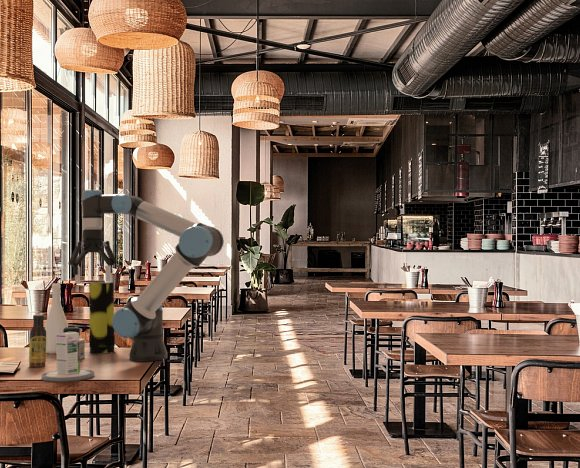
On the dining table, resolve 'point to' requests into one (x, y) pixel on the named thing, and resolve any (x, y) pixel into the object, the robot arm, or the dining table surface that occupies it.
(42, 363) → the sauce bottle
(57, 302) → the wine bottle
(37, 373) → the dining table surface
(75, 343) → the syrup box
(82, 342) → the container
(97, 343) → the container
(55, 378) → the dish
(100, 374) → the dining table surface
